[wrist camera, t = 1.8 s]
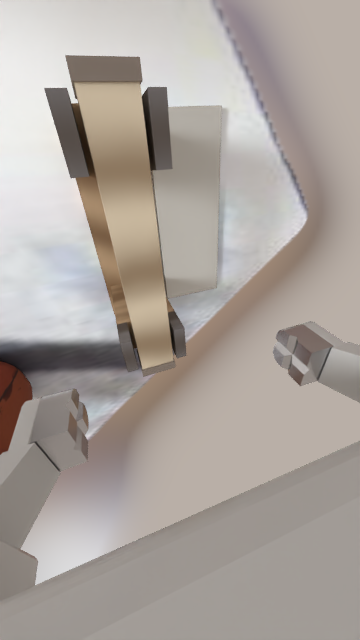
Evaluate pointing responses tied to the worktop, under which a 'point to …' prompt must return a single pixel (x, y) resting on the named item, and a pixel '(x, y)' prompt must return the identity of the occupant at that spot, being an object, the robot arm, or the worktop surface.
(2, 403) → the potted plant
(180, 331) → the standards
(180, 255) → the mat
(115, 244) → the rail
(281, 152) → the worktop surface
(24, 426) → the robot arm
